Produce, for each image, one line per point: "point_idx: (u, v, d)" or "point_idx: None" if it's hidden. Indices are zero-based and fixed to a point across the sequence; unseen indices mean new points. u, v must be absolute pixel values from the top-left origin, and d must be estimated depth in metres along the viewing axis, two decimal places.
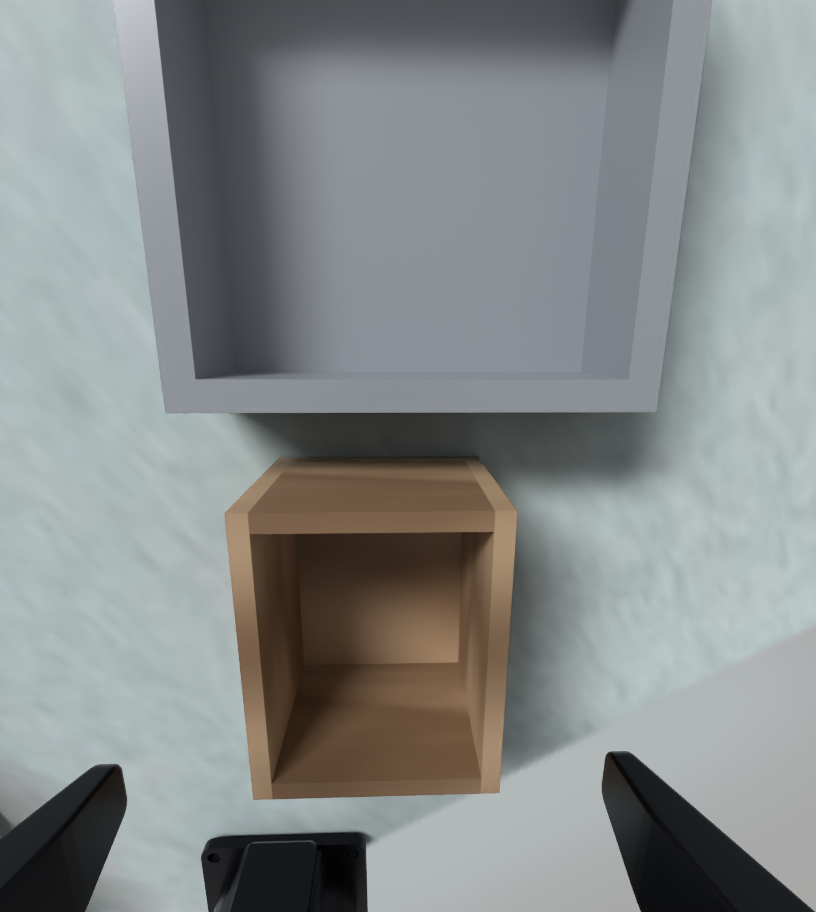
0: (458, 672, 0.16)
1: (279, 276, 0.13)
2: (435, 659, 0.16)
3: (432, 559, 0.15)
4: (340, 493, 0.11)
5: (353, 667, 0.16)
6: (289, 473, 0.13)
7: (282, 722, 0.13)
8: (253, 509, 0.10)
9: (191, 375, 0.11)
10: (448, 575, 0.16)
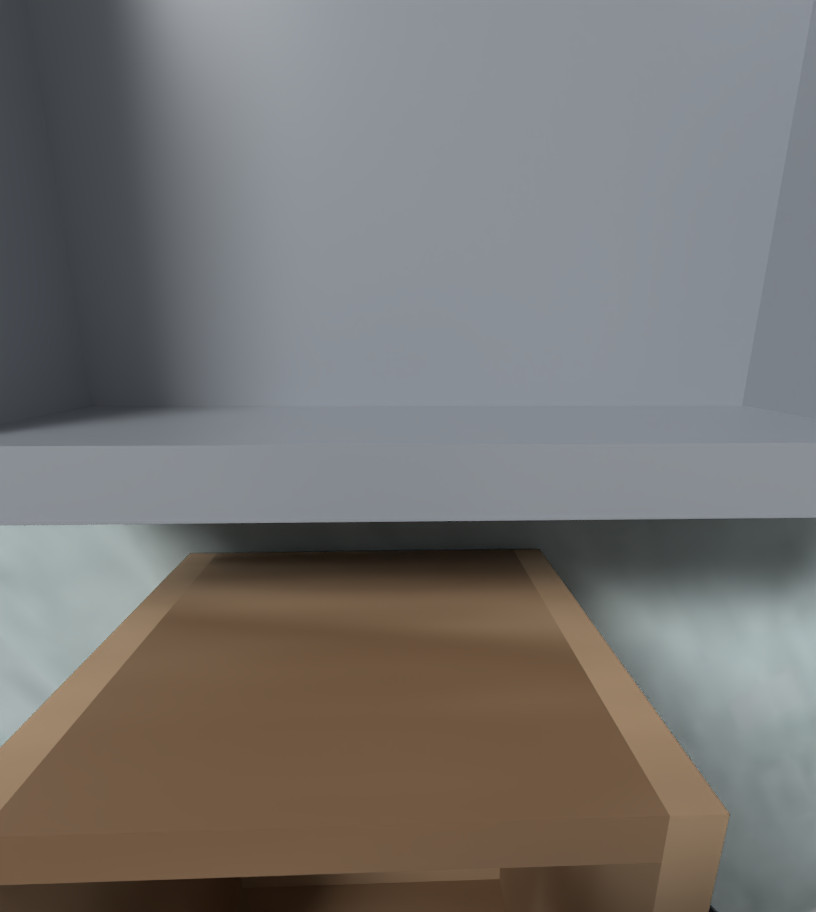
0: (502, 908, 0.09)
1: (164, 219, 0.07)
2: (462, 876, 0.10)
3: None
4: (267, 704, 0.05)
5: (324, 894, 0.10)
6: (185, 608, 0.07)
7: None
8: (15, 800, 0.04)
9: None
10: None
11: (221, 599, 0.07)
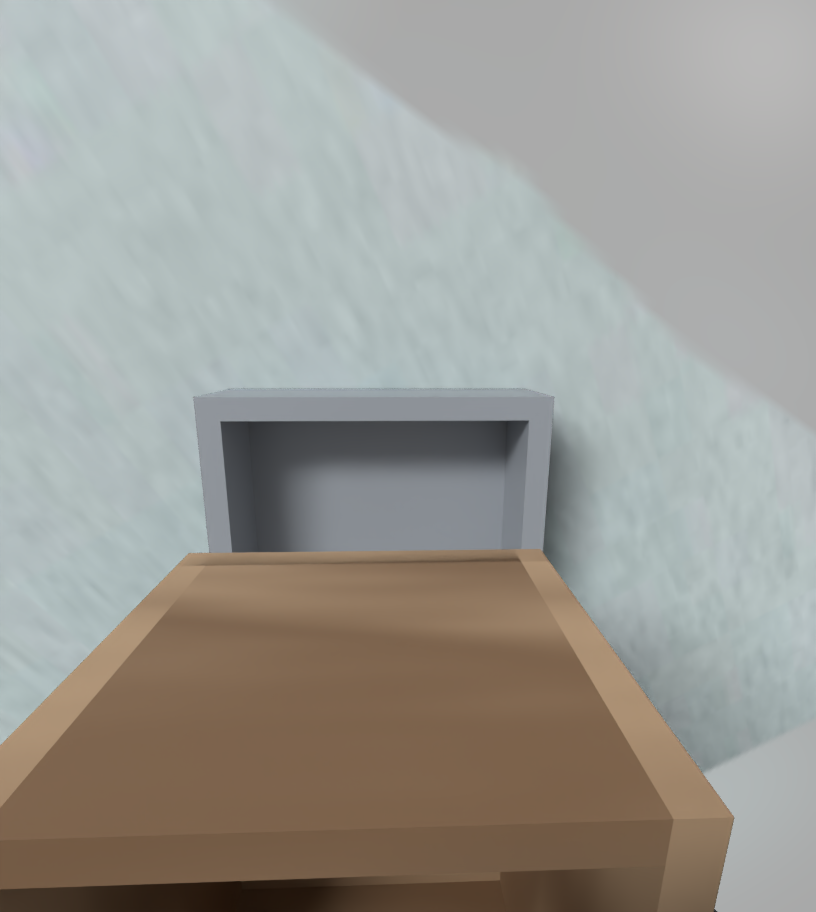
0: (503, 909, 0.09)
1: None
2: (462, 877, 0.10)
3: None
4: (266, 706, 0.05)
5: (324, 896, 0.10)
6: (184, 609, 0.07)
7: None
8: (11, 803, 0.04)
9: None
10: None
11: (220, 599, 0.07)
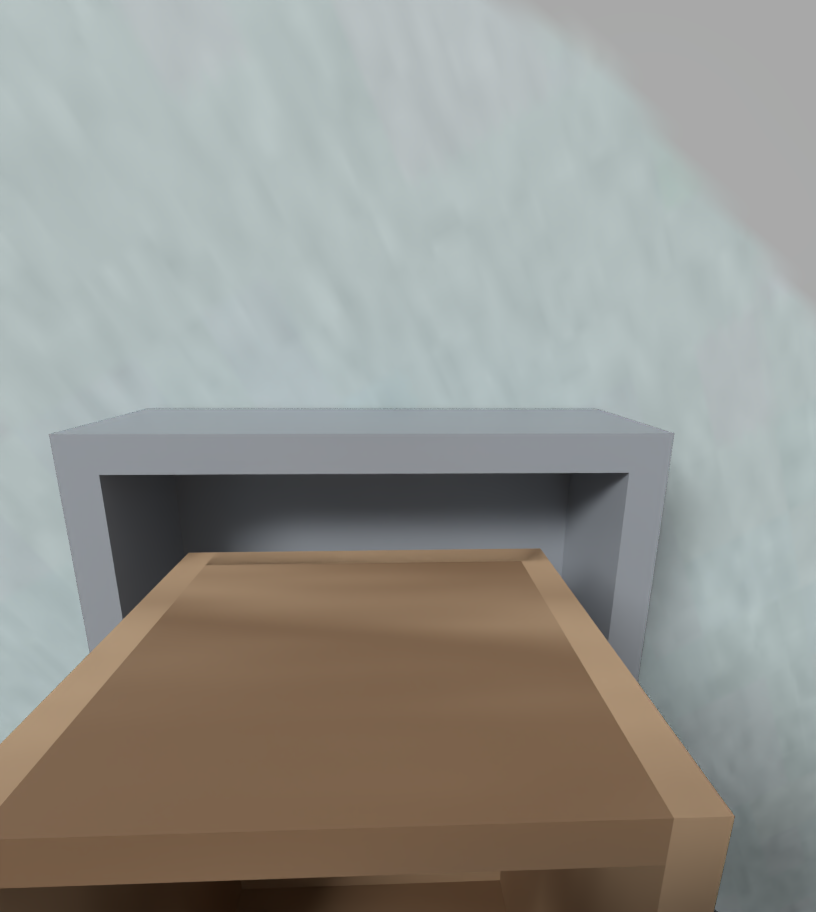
0: (503, 909, 0.09)
1: None
2: (462, 877, 0.10)
3: None
4: (265, 705, 0.05)
5: (324, 896, 0.10)
6: (183, 608, 0.07)
7: None
8: (10, 802, 0.04)
9: None
10: None
11: (220, 599, 0.07)
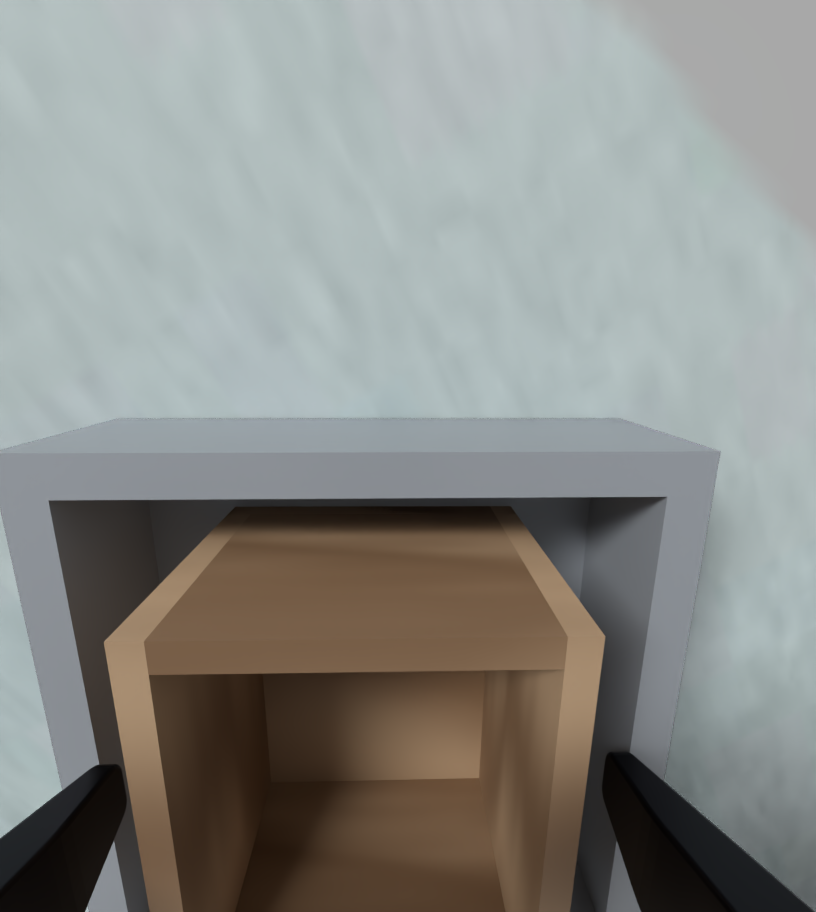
0: (480, 797, 0.12)
1: None
2: (448, 774, 0.12)
3: None
4: (310, 587, 0.07)
5: (337, 787, 0.12)
6: (241, 539, 0.09)
7: (227, 907, 0.09)
8: (159, 628, 0.06)
9: None
10: None
11: (266, 534, 0.09)
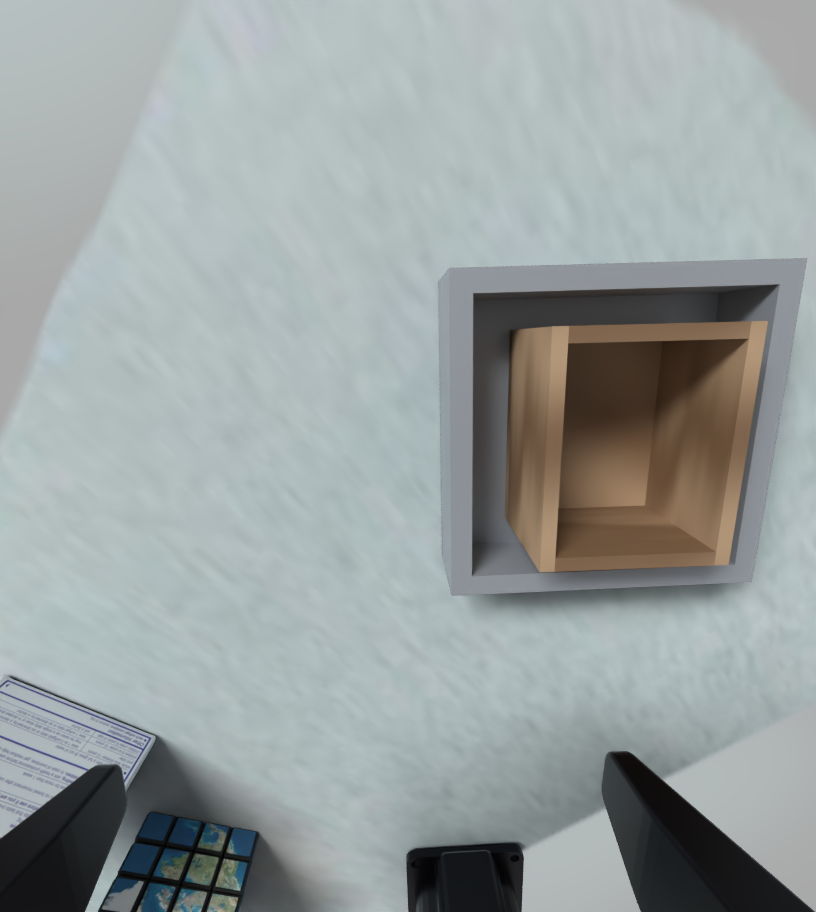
0: (650, 509, 0.19)
1: (493, 486, 0.20)
2: (626, 503, 0.20)
3: (631, 413, 0.19)
4: None
5: (561, 509, 0.20)
6: None
7: None
8: None
9: (469, 573, 0.18)
10: (643, 427, 0.19)
11: None
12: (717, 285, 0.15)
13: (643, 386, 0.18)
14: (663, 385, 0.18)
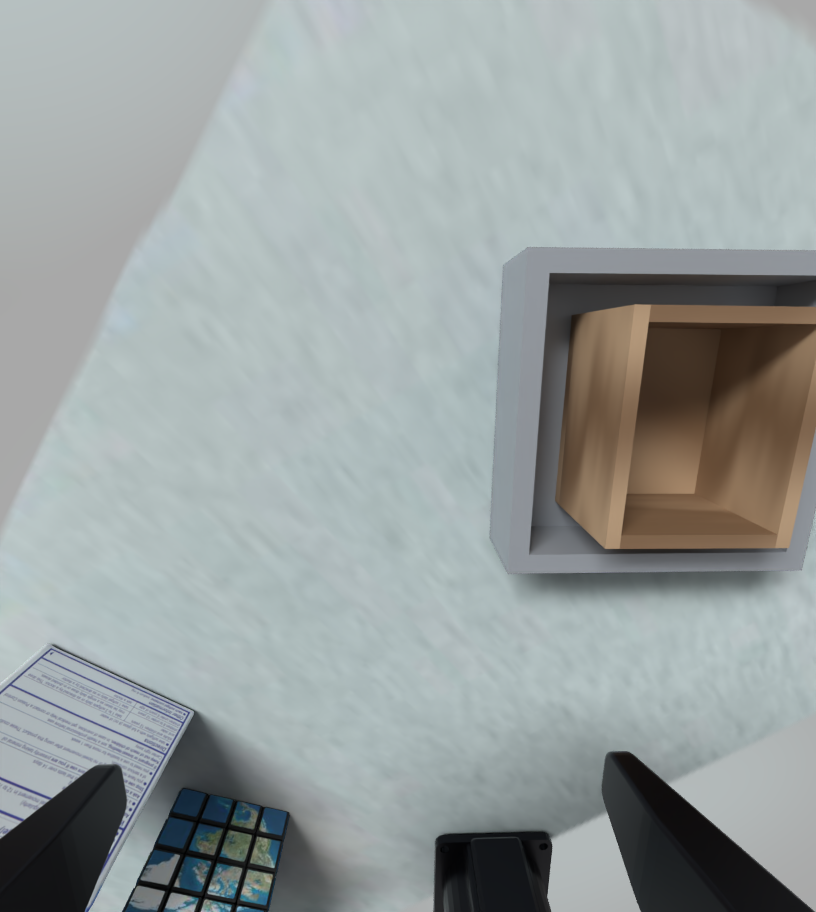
0: (700, 497, 0.20)
1: (546, 469, 0.20)
2: (677, 490, 0.20)
3: (686, 401, 0.19)
4: None
5: None
6: None
7: None
8: None
9: (526, 552, 0.18)
10: (697, 416, 0.19)
11: None
12: (786, 274, 0.16)
13: (699, 375, 0.19)
14: (720, 374, 0.18)
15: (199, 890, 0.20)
